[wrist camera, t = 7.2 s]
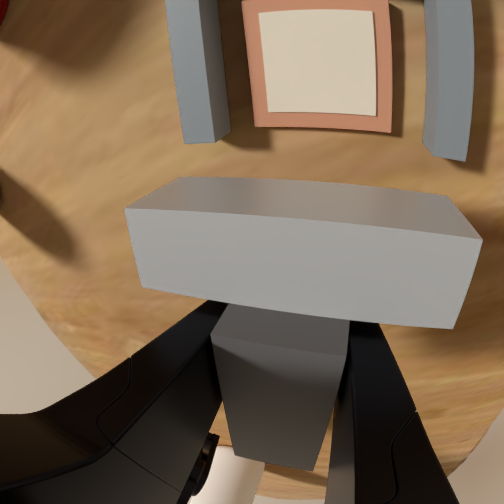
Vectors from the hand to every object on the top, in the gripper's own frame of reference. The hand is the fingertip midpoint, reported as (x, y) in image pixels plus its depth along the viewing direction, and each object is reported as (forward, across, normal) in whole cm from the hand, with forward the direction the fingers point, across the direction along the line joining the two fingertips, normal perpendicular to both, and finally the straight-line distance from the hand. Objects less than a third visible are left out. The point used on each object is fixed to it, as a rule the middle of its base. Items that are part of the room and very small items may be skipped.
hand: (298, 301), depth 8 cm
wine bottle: (+9, +10, +49) cm, 50 cm away
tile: (+9, 0, -6) cm, 11 cm away
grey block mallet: (+1, 0, +1) cm, 1 cm away
